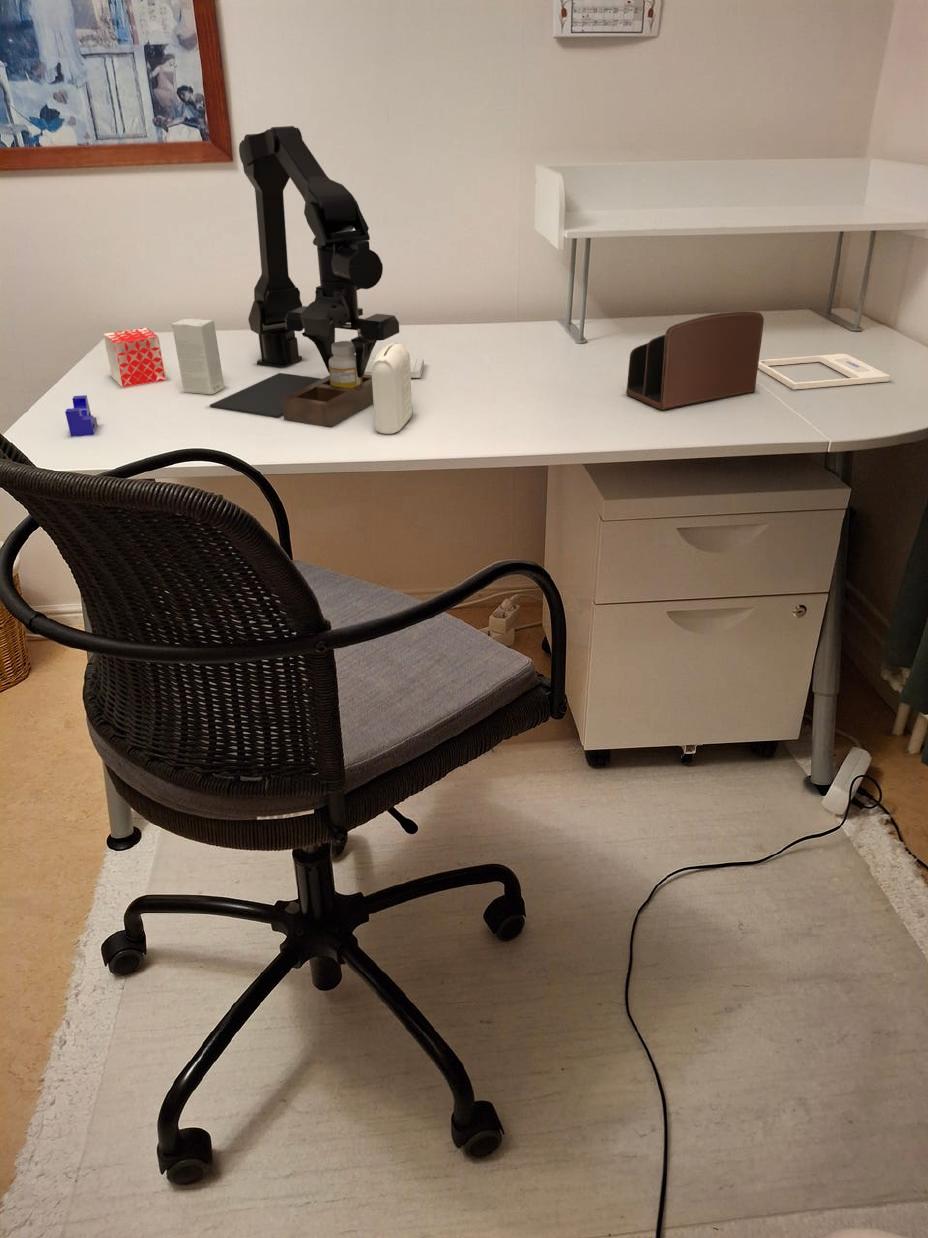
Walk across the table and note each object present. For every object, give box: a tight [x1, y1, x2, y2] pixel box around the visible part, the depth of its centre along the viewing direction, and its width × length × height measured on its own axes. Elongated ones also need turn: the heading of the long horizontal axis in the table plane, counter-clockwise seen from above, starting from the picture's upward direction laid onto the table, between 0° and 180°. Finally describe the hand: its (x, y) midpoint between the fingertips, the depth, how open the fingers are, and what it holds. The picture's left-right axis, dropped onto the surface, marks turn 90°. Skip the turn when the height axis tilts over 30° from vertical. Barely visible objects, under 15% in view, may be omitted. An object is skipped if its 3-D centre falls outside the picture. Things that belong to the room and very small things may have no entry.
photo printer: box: [372, 342, 413, 435], centre depth 150 cm, size 10×4×12 cm, turn 168°
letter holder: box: [625, 311, 765, 411], centre depth 160 cm, size 10×20×14 cm, turn 117°
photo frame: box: [758, 353, 891, 390], centre depth 171 cm, size 15×1×18 cm
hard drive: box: [364, 358, 425, 379], centre depth 177 cm, size 2×8×12 cm
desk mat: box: [209, 372, 322, 419], centre depth 167 cm, size 14×20×1 cm
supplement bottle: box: [328, 340, 363, 388], centre depth 161 cm, size 5×5×10 cm
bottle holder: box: [282, 374, 374, 428], centre depth 160 cm, size 9×17×4 cm, turn 154°
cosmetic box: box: [171, 317, 225, 395], centre depth 167 cm, size 6×4×12 cm
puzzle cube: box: [102, 327, 167, 388], centre depth 175 cm, size 8×8×8 cm
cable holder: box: [64, 394, 99, 437], centre depth 154 cm, size 8×4×4 cm, turn 10°
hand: (345, 374), depth 161 cm, fingers closed on supplement bottle, 5 cm apart
